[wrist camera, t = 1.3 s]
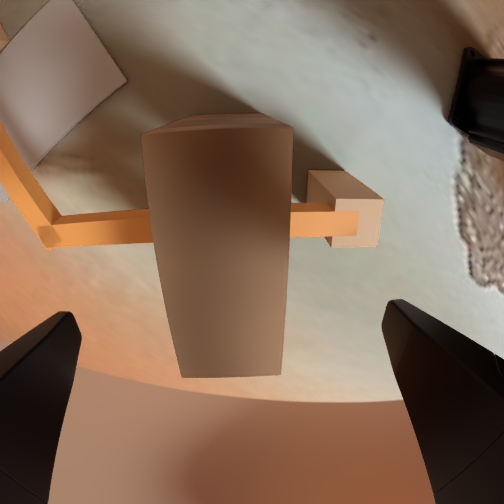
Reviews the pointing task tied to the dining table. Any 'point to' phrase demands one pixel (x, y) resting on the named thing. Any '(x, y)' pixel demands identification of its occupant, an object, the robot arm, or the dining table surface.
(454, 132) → the dining table surface
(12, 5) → the dining table surface
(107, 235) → the rail
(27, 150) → the mat
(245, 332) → the brown rectangular frame
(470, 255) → the dining table surface
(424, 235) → the dining table surface
